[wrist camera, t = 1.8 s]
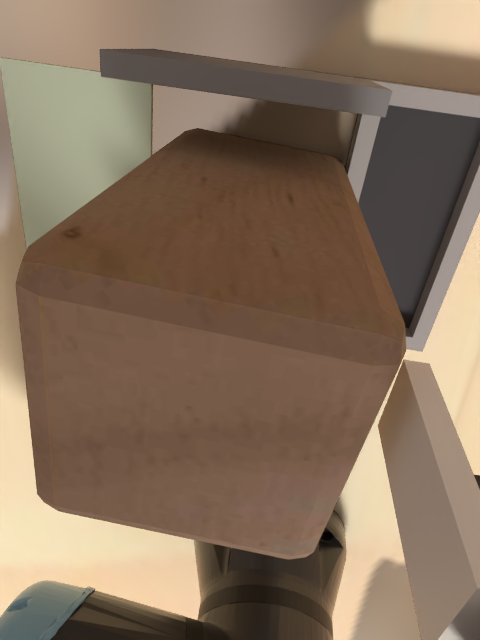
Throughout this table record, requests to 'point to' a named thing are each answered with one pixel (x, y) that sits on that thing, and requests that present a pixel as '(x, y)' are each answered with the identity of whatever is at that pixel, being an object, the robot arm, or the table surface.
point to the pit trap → (418, 193)
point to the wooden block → (209, 345)
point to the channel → (246, 80)
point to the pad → (71, 136)
